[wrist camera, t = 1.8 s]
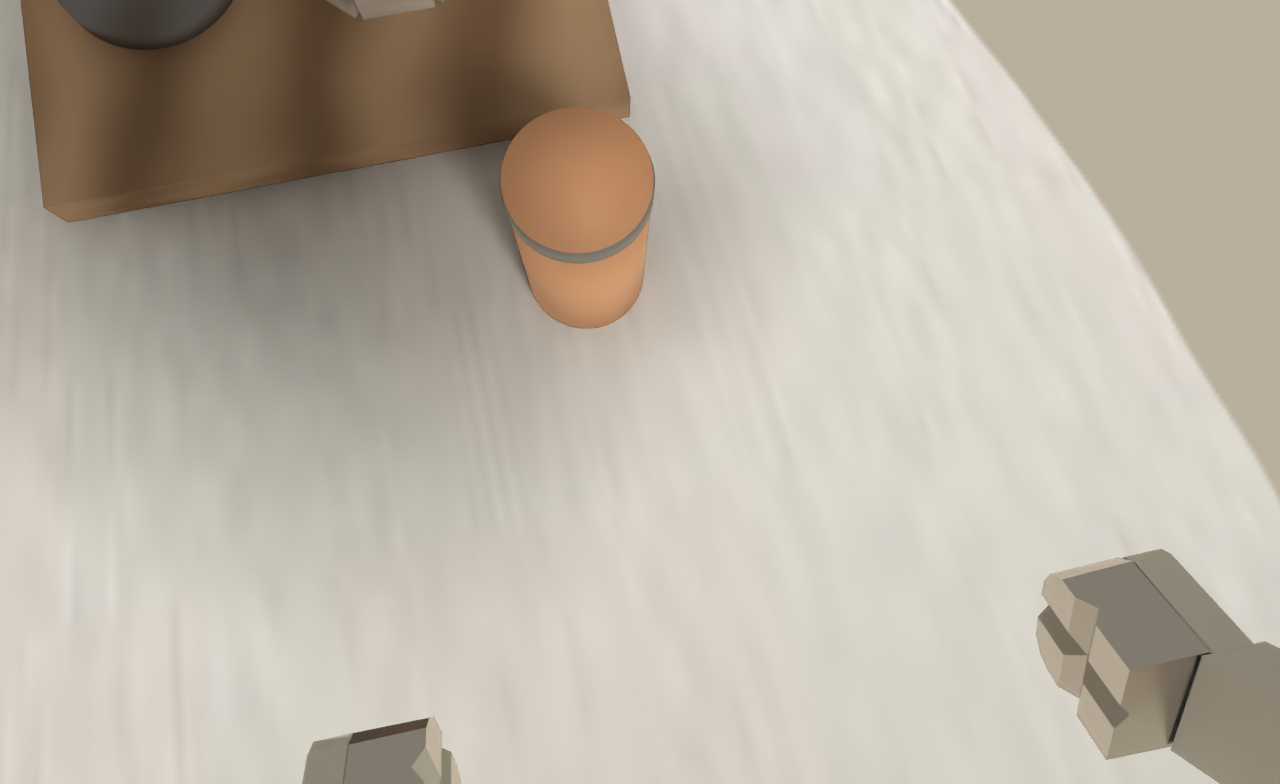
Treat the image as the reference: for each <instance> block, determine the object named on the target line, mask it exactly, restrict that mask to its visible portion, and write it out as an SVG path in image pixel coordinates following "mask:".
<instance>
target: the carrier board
mask: <svg viewBox="0 0 1280 784" xmlns="http://www.w3.org/2000/svg"><path fill="white" fill-rule="evenodd" d="M21 7H22V16H23V25H24V34H25V43H26V52H27V61H28V70H29V79H30V88H31V97H32V106H33V115H34V124H35V133H36V142H37V151H38V160H39V169H40V178H41V187H42V196H43V205H44V208H45V209H46V210H48V211H50V212H51V213H53V214H55V215H56V216H58V217H60V218H61V219H63V220H65V221H66V222H74V221H79V220H84V219H90V218H95V217H100V216H106V215H111V214H116V213H121V212H127V211H132V210H137V209H143V208H148V207H153V206H158V205H164V204H169V203H174V202H180V201H185V200H190V199H196V198H201V197H206V196H211V195H217V194H222V193H227V192H233V191H238V190H243V189H248V188H254V187H259V186H264V185H270V184H275V183H280V182H286V181H291V180H296V179H301V178H307V177H312V176H317V175H323V174H328V173H333V172H339V171H344V170H349V169H354V168H360V167H365V166H370V165H376V164H381V163H386V162H391V161H397V160H402V159H407V158H413V157H418V156H423V155H429V154H434V153H439V152H444V151H450V150H455V149H460V148H466V147H471V146H476V145H481V144H487V143H492V142H497V141H503V140H508V139H513V138H514V137H515V136H516V135H517V134H518V132H519V131H520V130H521V129H522V128H523V127H525V126H526V125H527V124H528V123H529V122H531V121H532V120H534V119H535V118H537V117H539V116H541V115H543V114H545V113H548V112H550V111H553V110H557V109H561V108H568V107H586V108H593V109H597V110H601V111H604V112H606V113H609V114H611V115H613V116H615V117H617V118H624V117H630V94H629V90H628V86H627V81H626V77H625V73H624V68H623V64H622V60H621V55H620V51H619V47H618V43H617V38H616V34H615V30H614V25H613V21H612V17H611V12H610V8H609V4H608V0H21Z"/></svg>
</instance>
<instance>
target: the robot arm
mask: <svg viewBox="0 0 1280 784" xmlns="http://www.w3.org/2000/svg"><path fill="white" fill-rule="evenodd" d="M1042 595H1043V597H1044V598H1045V600H1046V601H1047V603H1048V604H1049V605H1048V606H1047V608H1046V609H1045V610H1044V611H1043V612H1042V613H1041V614H1040V615H1039V616H1038V621H1037V631H1036V636H1037V640H1038V645H1039V650H1040V654H1041V656H1042V659H1043V661H1044V663H1045V665H1046V667H1047V670H1048V671H1049V673H1050V674H1051V676H1052V678H1053V679H1054V681H1055V682H1056V684H1057V686H1058V687H1060V688H1062V689H1064V690H1065V691H1067V692H1069V693H1071V694H1073V695H1074V696H1076V697H1078V698H1079V700H1078V709H1077V716H1078V718H1079V719H1080V721H1081V722H1082V724H1083V725H1084V727H1085V728H1086V730H1087V732H1088V733H1089V735H1090V736H1091V738H1092V739H1093V741H1094V742H1095V744H1096V745H1097V747H1098V748H1099V750H1100V751H1101V753H1102V754H1103V756H1104V757H1105V759H1106V760H1108V759H1113V758H1118V757H1122V756H1127V755H1132V754H1137V753H1141V752H1146V751H1151V750H1156V749H1161V748H1165V747H1170V746H1172V747H1171V751H1173V752H1174V753H1176V754H1177V755H1179V756H1180V757H1182V758H1183V759H1185V760H1186V761H1188V762H1189V763H1191V764H1192V765H1193V766H1195V767H1196V768H1198V769H1199V770H1201V771H1202V772H1204V773H1205V774H1207V775H1208V776H1210V777H1211V778H1213V779H1214V780H1215V781H1217V782H1218V783H1220V784H1280V648H1278V647H1276V646H1274V645H1271V644H1269V643H1267V642H1259V643H1254V644H1253V642H1252V641H1251V640H1250V639H1249V638H1248V637H1247V636H1246V635H1245V634H1244V633H1243V632H1242V631H1241V629H1240V628H1239V627H1238V626H1237V625H1236V624H1235V623H1234V622H1233V621H1232V620H1231V619H1230V618H1229V616H1228V615H1227V614H1226V613H1225V612H1224V611H1223V610H1222V609H1221V608H1220V607H1219V606H1218V604H1217V603H1216V602H1215V601H1214V600H1213V599H1212V598H1211V597H1210V596H1209V595H1208V594H1207V593H1206V591H1205V590H1204V589H1203V588H1202V587H1201V586H1200V585H1199V584H1198V583H1197V582H1196V581H1195V580H1194V578H1193V577H1192V576H1191V575H1190V574H1189V573H1188V572H1187V571H1186V570H1185V569H1184V568H1183V566H1182V565H1181V564H1180V563H1179V562H1178V561H1177V560H1176V559H1175V558H1174V557H1173V556H1172V555H1171V554H1170V553H1168V552H1166V551H1164V550H1162V549H1158V550H1152V551H1148V552H1144V553H1140V554H1136V555H1131V556H1127V557H1124V558H1114V559H1110V560H1106V561H1102V562H1098V563H1094V564H1090V565H1085V566H1081V567H1077V568H1073V569H1069V570H1065V571H1061V572H1057V573H1053V574H1050V575H1049V576H1048V577H1047V578H1046V579H1045V580H1044V584H1043V589H1042ZM302 784H461V779H460V775H459V771H458V768H457V764H456V762H455V759H454V757H453V755H452V753H451V752H450V751H448V750H445V749H443V748H442V731H441V729H440V727H439V725H438V723H437V721H436V720H435V718H434V717H430V718H425V719H420V720H415V721H411V722H406V723H401V724H396V725H391V726H386V727H381V728H376V729H371V730H366V731H362V732H357V733H351V734H347V735H342V736H338V737H333V738H329V739H324V740H320V741H315V742H313V744H312V747H311V749H310V751H309V753H308V755H307V759H306V765H305V771H304V777H303V783H302Z"/></svg>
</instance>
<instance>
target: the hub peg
mask: <svg viewBox="0 0 1280 784" xmlns="http://www.w3.org/2000/svg"><path fill="white" fill-rule="evenodd" d="M654 188H655V175H654V169H653V164H652V161H651V158H650V155H649V153H648V151H647V149H646V147H645V145H644V144H643V142H642V140H641V139H640V137H639V136H638V135H637V134H636V133H635V131H634V130H633V129H631V128H630V127H629V126H628V125H627V124H626V123H624V122H623V121H622V120H620V119H619V118H617V117H615V116H613V115H611V114H609V113H606V112H604V111H601V110H597V109H593V108H586V107H568V108H561V109H557V110H553V111H550V112H548V113H545V114H543V115H541V116H539V117H537V118H535V119H534V120H532V121H531V122H529V123H528V124H527V125H526V126H525V127H523V128H522V129H521V130H520V131H519V132H518V134H517V135H516V136H515V137H514V139H513V140H512V142H511V143H510V145H509V147H508V149H507V151H506V153H505V156H504V159H503V162H502V166H501V171H500V192H501V198H502V201H503V205H504V208H505V211H506V214H507V217H508V219H509V221H510V224H511V225H512V228H513V231H514V234H515V238H516V241H517V244H518V247H519V251H520V254H521V257H522V260H523V263H524V267H525V270H526V273H527V276H528V280H529V283H530V286H531V289H532V292H533V294H534V297H535V299H536V300H537V302H538V304H539V305H540V306H541V308H542V309H543V310H544V311H545V312H546V313H547V314H548V315H549V316H551V317H552V318H553V319H555V320H557V321H558V322H560V323H562V324H565V325H568V326H571V327H575V328H597V327H601V326H605V325H607V324H610V323H612V322H614V321H616V320H617V319H619V318H620V317H622V316H623V315H624V314H625V313H626V312H627V311H628V310H629V309H630V308H631V307H632V306H633V304H634V303H635V301H636V299H637V298H638V296H639V293H640V291H641V287H642V283H643V274H644V265H645V256H646V246H647V237H648V228H649V218H650V213H651V209H652V205H653V197H654Z"/></svg>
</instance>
